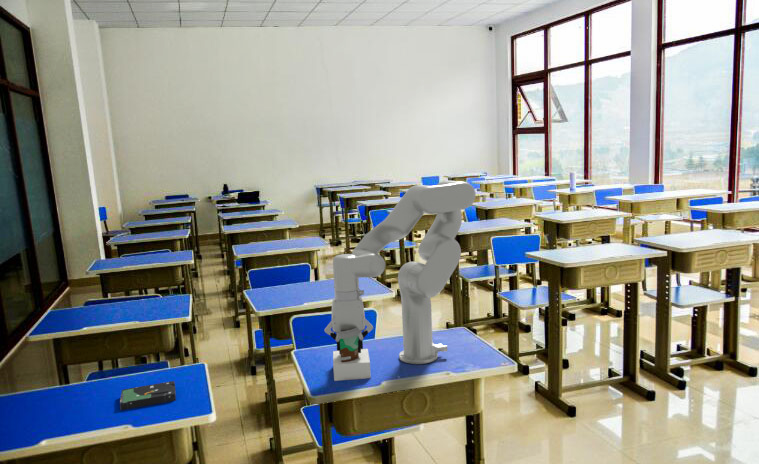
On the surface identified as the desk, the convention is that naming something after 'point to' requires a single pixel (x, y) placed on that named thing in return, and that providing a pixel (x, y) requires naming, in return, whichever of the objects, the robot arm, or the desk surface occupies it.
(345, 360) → the food container
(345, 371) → the switch box
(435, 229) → the robot arm
